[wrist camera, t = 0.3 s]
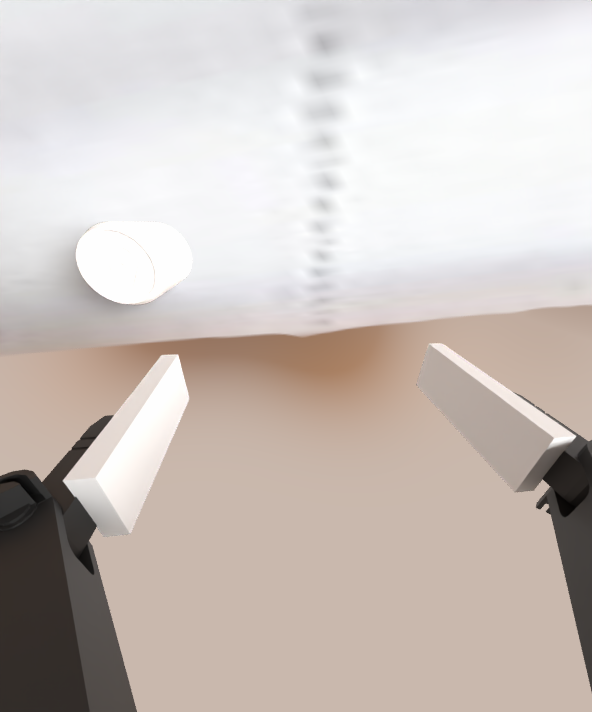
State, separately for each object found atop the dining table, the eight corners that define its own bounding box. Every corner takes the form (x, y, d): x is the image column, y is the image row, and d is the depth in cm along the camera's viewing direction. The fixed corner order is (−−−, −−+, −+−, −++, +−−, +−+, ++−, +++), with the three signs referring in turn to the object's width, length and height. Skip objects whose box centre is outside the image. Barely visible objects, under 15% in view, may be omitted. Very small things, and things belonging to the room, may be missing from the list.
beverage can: (123, 263, 34) (60, 281, 24) (143, 208, 31) (81, 200, 21) (180, 294, 37) (146, 322, 27) (202, 245, 34) (174, 255, 24)
